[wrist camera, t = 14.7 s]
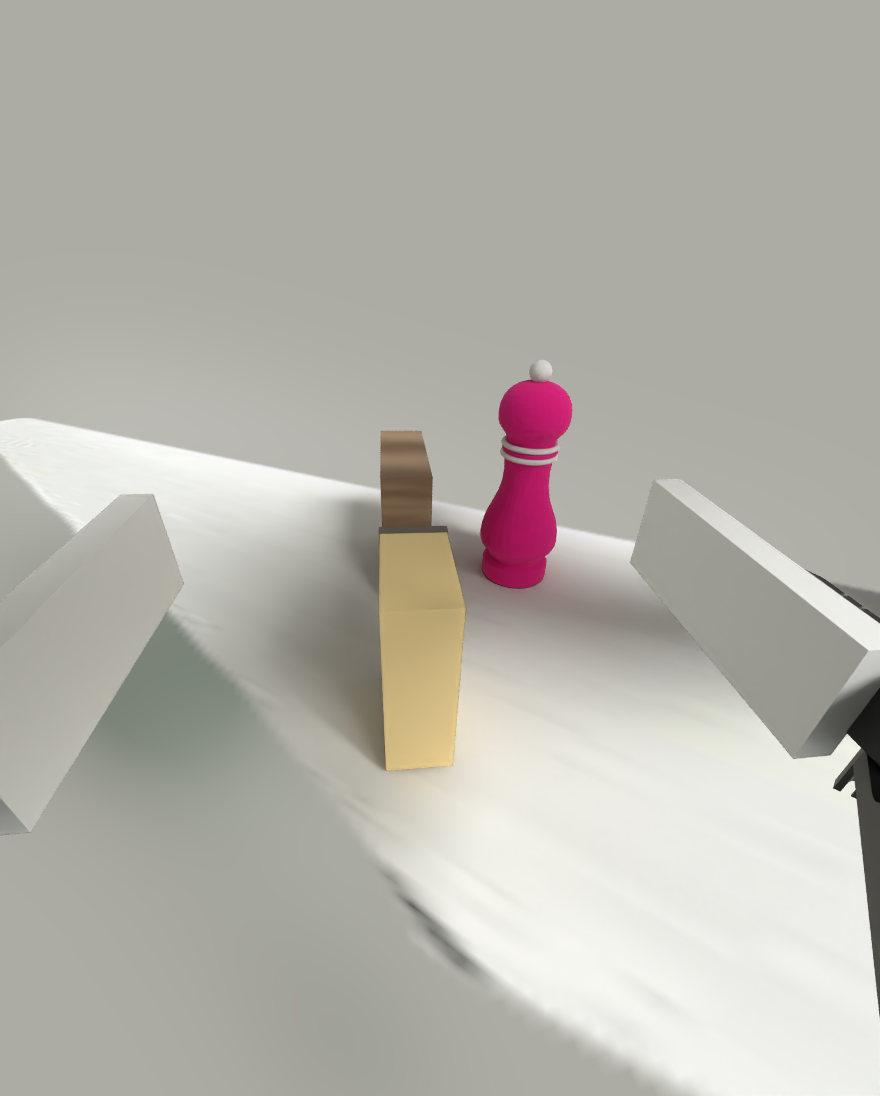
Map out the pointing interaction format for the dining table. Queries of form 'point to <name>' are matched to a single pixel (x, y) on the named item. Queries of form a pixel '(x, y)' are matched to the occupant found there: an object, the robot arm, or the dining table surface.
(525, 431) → the pepper mill
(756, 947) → the dining table surface
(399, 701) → the stub
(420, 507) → the block
